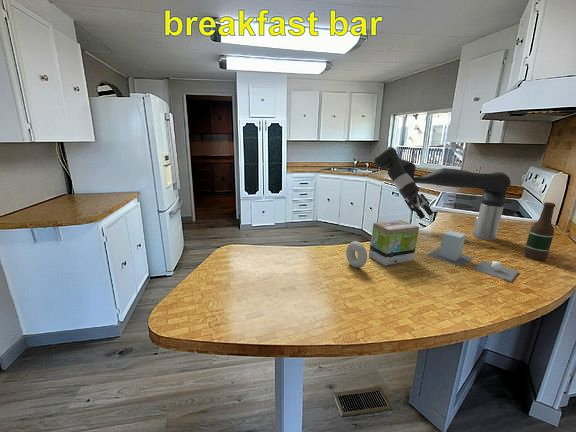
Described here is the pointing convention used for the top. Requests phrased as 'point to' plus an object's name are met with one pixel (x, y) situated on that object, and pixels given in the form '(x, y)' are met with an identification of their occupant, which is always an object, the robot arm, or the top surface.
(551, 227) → the beer bottle
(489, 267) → the gray plate with knob
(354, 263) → the donut
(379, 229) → the tea box
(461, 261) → the mat
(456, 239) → the light gray block
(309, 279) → the top surface
